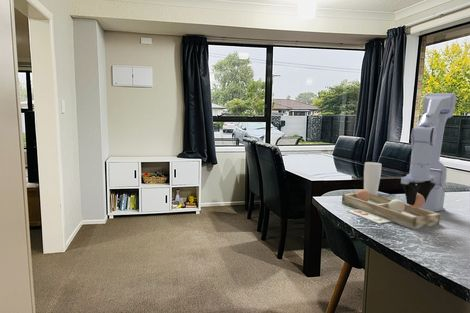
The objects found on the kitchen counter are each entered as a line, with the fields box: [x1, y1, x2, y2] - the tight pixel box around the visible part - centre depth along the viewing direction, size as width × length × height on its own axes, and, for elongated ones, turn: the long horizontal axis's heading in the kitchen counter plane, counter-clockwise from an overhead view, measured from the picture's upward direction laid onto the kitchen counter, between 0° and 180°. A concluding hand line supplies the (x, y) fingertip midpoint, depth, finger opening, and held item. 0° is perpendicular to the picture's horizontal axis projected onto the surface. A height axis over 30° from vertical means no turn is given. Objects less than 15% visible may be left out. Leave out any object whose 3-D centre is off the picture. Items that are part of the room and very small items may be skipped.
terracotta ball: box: [410, 192, 425, 208], centre depth 107 cm, size 5×5×5 cm
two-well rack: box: [341, 192, 441, 230], centre depth 118 cm, size 13×31×4 cm, turn 26°
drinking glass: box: [363, 161, 383, 195], centre depth 138 cm, size 7×7×15 cm
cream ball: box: [389, 198, 405, 213], centre depth 114 cm, size 5×5×5 cm
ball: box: [356, 189, 370, 202], centre depth 128 cm, size 5×5×5 cm
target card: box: [347, 208, 393, 225], centre depth 113 cm, size 6×14×1 cm, turn 26°
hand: (415, 203), depth 108 cm, fingers closed on terracotta ball, 5 cm apart
